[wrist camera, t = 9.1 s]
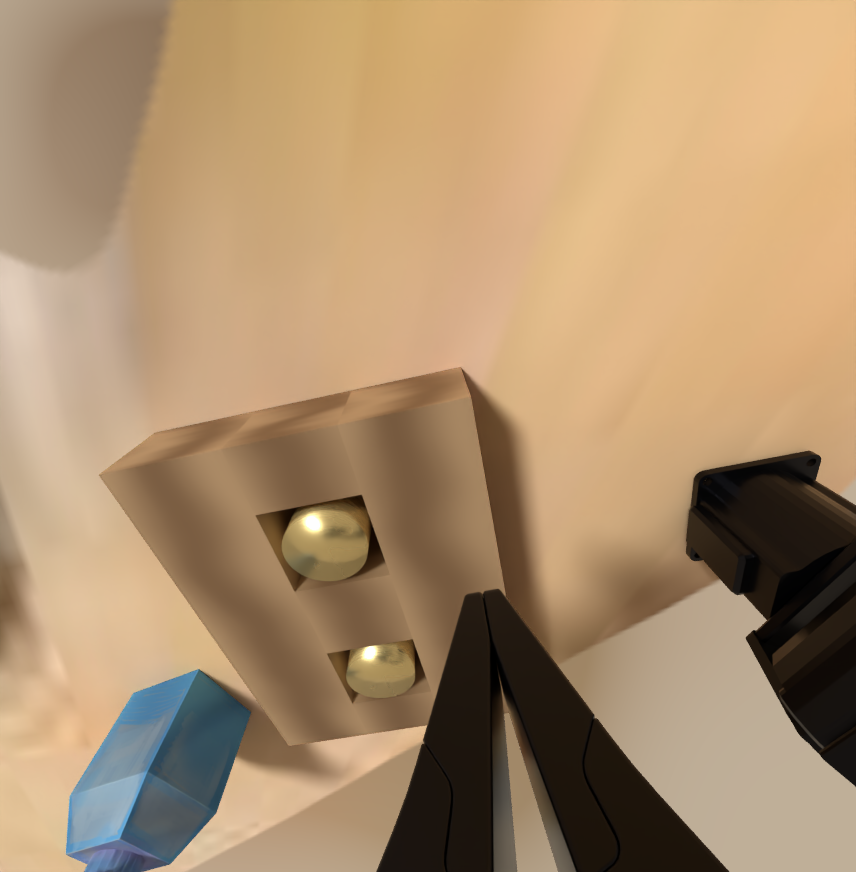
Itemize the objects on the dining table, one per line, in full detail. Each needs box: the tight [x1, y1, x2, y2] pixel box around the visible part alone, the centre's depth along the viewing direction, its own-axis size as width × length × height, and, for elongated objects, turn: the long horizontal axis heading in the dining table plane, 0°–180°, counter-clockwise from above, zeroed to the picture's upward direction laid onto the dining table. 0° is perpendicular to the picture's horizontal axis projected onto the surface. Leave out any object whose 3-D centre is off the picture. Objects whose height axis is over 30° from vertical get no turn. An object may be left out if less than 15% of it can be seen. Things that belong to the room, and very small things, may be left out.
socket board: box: [99, 367, 509, 746], centre depth 23 cm, size 16×22×4 cm
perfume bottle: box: [66, 669, 251, 872], centre depth 25 cm, size 6×6×12 cm
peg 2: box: [346, 639, 415, 698], centre depth 25 cm, size 4×4×4 cm
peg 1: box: [282, 495, 372, 581], centre depth 20 cm, size 4×4×4 cm
